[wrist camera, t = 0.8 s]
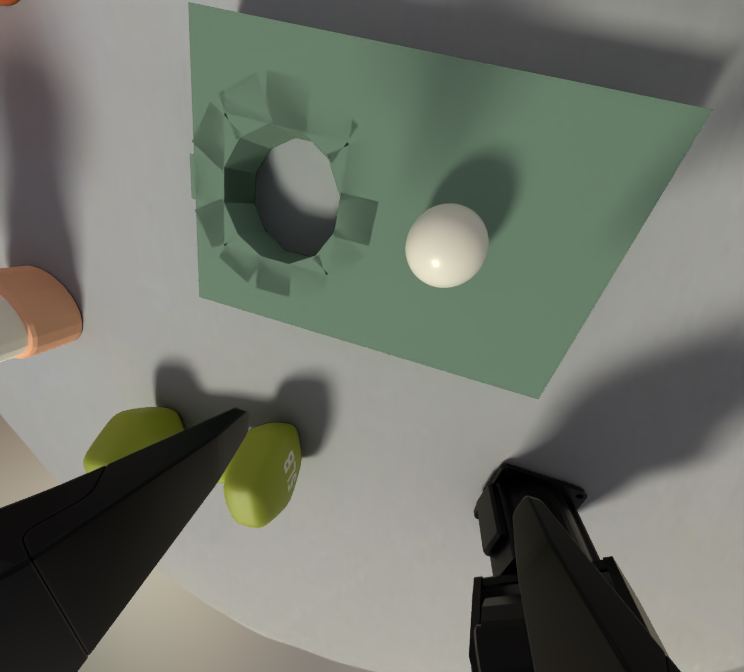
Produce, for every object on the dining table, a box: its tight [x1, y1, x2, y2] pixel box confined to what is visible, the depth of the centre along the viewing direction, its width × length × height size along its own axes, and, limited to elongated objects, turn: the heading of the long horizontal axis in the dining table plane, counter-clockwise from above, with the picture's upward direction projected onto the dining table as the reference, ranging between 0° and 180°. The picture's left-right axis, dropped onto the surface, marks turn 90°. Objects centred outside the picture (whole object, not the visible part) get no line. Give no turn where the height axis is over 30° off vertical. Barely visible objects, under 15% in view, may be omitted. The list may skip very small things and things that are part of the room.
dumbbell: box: [83, 407, 301, 528], centre depth 25 cm, size 16×8×7 cm, turn 90°
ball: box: [405, 203, 489, 288], centre depth 13 cm, size 4×4×4 cm
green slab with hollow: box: [188, 2, 712, 399], centre depth 16 cm, size 22×14×3 cm, turn 77°
